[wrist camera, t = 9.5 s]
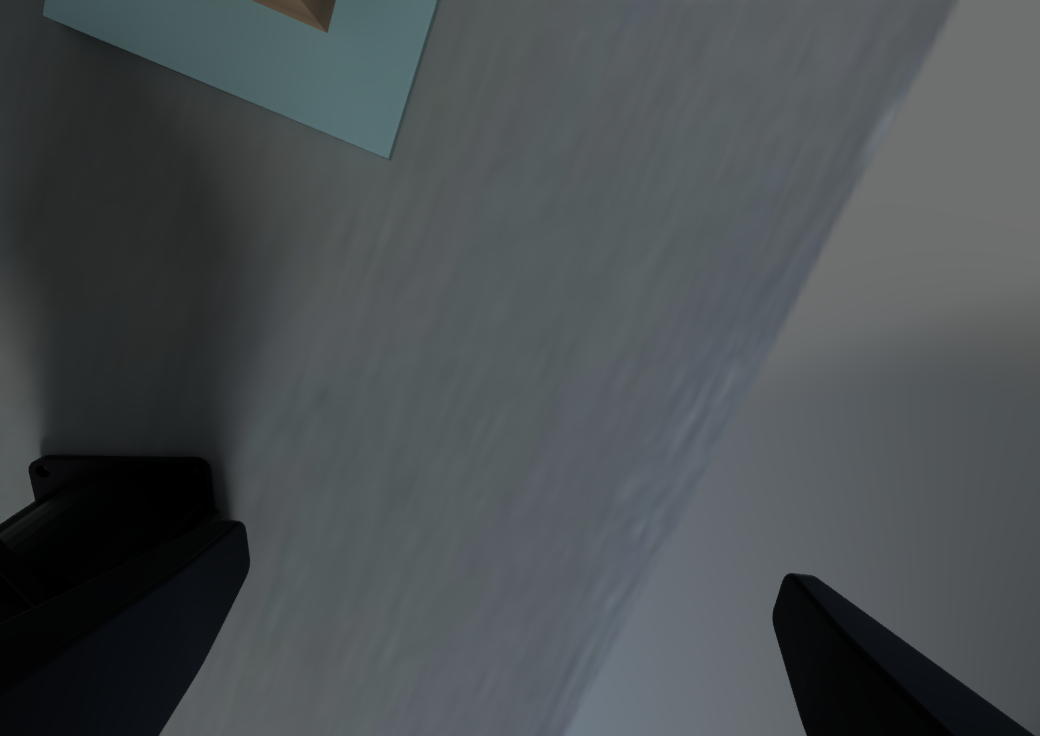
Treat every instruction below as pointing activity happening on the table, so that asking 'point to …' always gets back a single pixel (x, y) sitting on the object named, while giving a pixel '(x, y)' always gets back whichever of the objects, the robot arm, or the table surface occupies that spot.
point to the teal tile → (279, 55)
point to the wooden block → (304, 11)
